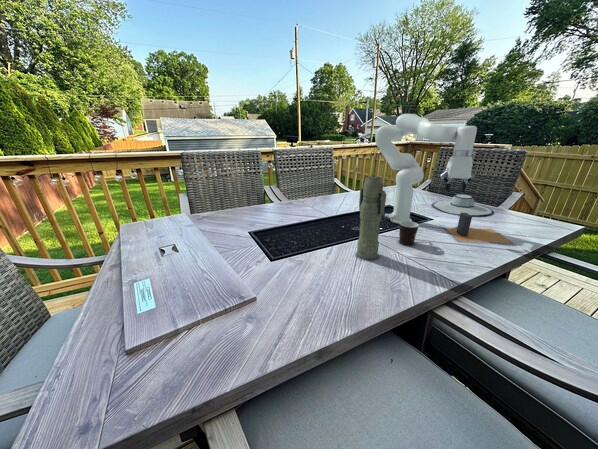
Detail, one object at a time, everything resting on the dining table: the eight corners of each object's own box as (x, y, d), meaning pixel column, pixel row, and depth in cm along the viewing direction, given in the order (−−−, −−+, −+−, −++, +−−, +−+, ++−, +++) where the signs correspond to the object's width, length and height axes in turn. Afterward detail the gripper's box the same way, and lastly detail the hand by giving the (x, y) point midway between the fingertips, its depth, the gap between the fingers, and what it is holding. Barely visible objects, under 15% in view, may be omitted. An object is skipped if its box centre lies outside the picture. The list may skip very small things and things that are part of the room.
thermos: (373, 263, 104) (382, 180, 92) (350, 254, 112) (355, 177, 100) (384, 256, 110) (393, 177, 97) (361, 248, 118) (367, 174, 105)
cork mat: (459, 241, 122) (459, 240, 122) (444, 228, 139) (444, 227, 139) (512, 243, 119) (512, 242, 119) (490, 229, 136) (490, 229, 136)
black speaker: (461, 236, 127) (465, 216, 123) (455, 231, 133) (460, 212, 129) (467, 236, 127) (472, 216, 123) (461, 232, 132) (466, 212, 129)
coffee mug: (407, 248, 117) (410, 228, 113) (393, 241, 124) (395, 222, 120) (423, 243, 122) (427, 224, 118) (409, 237, 129) (412, 218, 125)
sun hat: (431, 200, 196) (433, 188, 193) (485, 204, 182) (488, 192, 179) (433, 212, 165) (435, 199, 162) (499, 219, 151) (503, 205, 148)
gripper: (477, 153, 119) (469, 189, 125) (439, 153, 121) (433, 189, 127) (486, 154, 112) (477, 193, 118) (446, 154, 114) (438, 192, 120)
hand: (454, 190), depth 123 cm, fingers open, 6 cm apart
